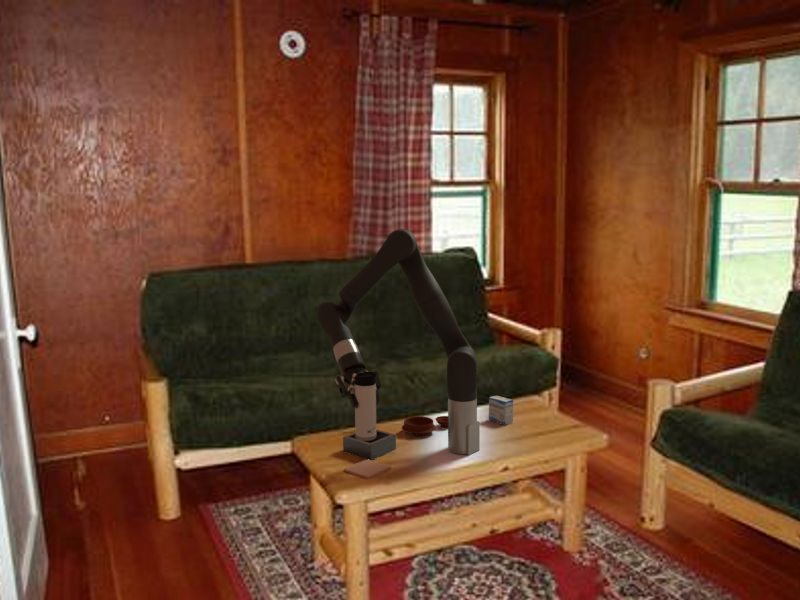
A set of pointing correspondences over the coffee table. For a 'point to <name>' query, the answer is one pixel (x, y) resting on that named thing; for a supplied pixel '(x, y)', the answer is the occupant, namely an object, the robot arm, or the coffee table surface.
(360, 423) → the travel mug
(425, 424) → the pottery
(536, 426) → the coffee table surface
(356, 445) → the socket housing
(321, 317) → the robot arm
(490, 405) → the medicine box
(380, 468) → the rubber mat
